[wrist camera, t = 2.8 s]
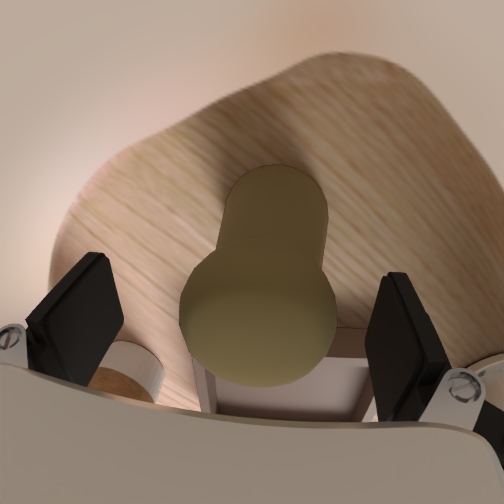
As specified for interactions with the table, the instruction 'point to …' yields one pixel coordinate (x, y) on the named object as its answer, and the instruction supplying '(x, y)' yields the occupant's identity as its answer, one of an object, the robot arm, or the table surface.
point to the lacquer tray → (301, 389)
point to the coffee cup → (129, 373)
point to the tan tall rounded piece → (263, 284)
